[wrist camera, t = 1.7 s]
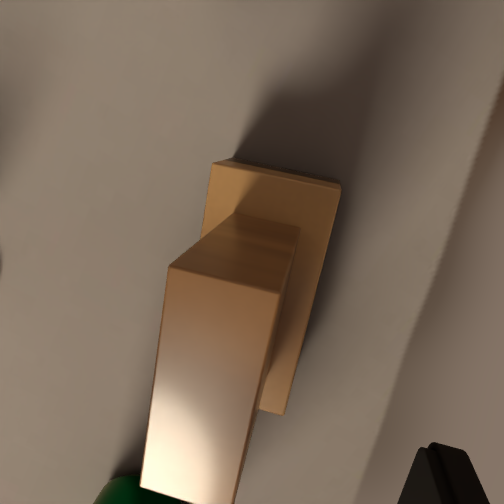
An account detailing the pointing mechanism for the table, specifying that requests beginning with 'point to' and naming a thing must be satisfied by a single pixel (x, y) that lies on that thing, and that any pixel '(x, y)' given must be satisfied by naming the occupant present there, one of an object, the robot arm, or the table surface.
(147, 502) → the soda can
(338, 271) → the table surface
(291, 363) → the wooden inverted t block
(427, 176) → the table surface
